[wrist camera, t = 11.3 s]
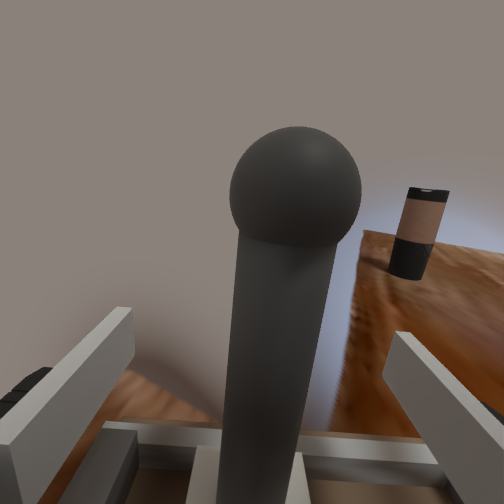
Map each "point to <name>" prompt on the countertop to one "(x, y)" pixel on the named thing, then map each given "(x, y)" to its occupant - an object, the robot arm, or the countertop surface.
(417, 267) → the travel mug
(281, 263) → the slider
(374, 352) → the countertop surface
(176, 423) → the rail base
